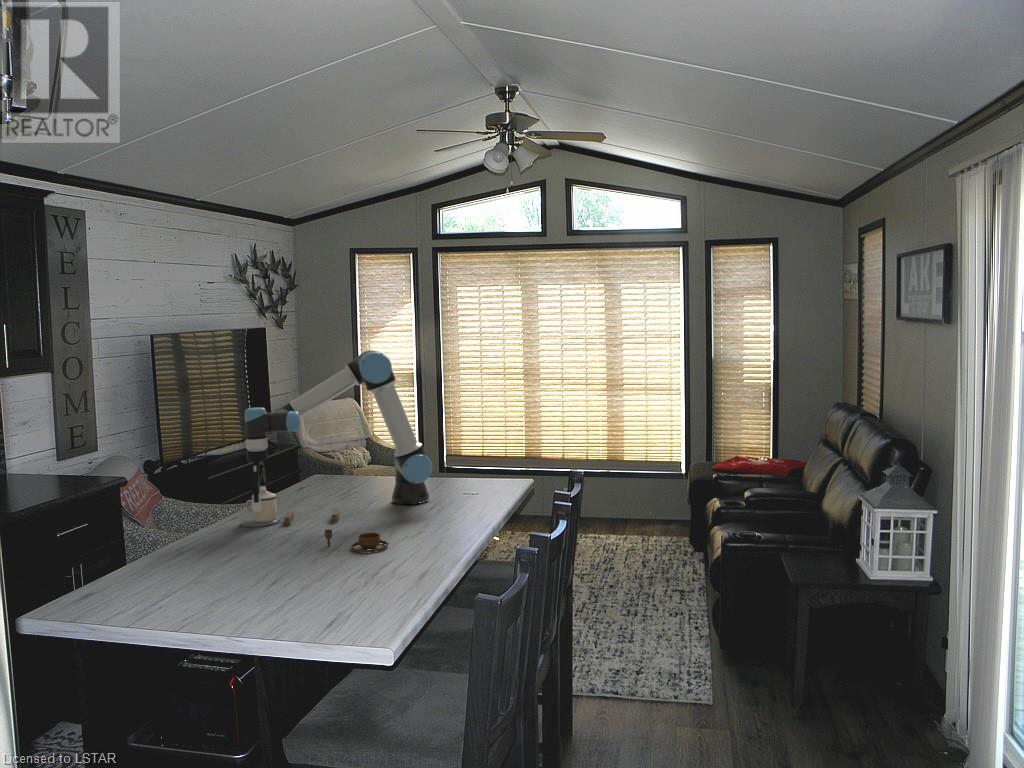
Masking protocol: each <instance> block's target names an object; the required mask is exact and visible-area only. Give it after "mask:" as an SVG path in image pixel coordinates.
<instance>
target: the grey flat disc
mask: <svg viewBox="0 0 1024 768" xmlns="http://www.w3.org/2000/svg"><path fill="white" fill-rule="evenodd" d="M278 522H279V523H280V522H281V517H280V516H278V515H277V518H276V520H274V521H270V522H254V521H253V516H251V517H247V518H244V519H242V520H240V526H241V527H244V526H247V527H246V528H252V527H254V528H261V527H260V526H266V527H268V526H267V525H271V526H274V525H273V524H275V525H277V524H279V523H278ZM276 523H277V524H276Z"/></svg>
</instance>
